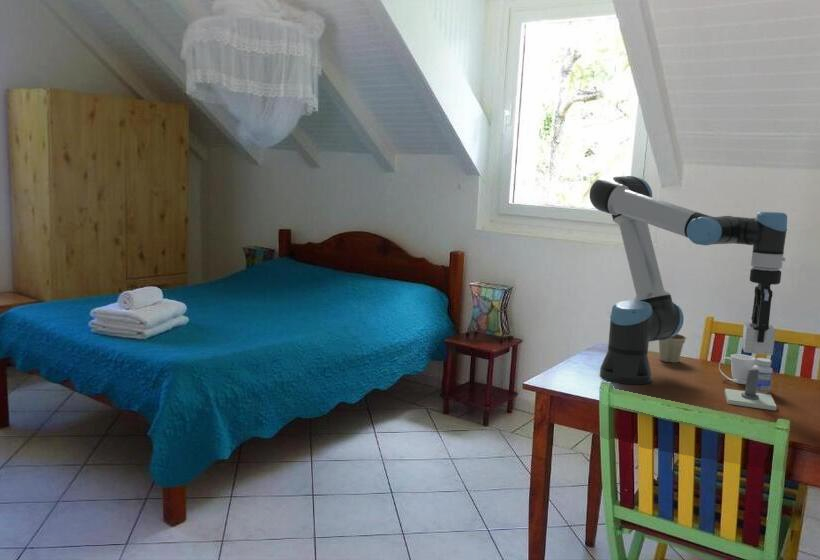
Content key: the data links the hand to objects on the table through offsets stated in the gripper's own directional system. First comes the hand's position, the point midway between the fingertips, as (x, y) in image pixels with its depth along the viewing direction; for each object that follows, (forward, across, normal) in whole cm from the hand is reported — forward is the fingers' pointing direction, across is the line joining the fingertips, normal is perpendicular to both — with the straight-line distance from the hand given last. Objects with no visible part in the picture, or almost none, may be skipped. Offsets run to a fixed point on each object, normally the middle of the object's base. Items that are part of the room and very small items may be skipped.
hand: (756, 350), depth 188 cm
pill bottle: (+15, +12, -4) cm, 20 cm away
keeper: (+15, 0, 0) cm, 15 cm away
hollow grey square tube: (0, 0, 0) cm, 0 cm away
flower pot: (+15, +36, +21) cm, 45 cm away
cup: (+15, +20, +2) cm, 25 cm away
